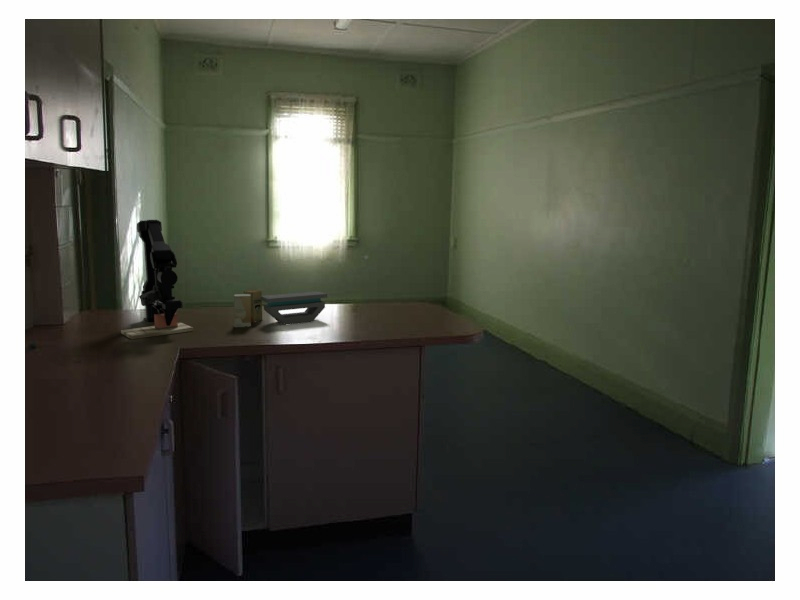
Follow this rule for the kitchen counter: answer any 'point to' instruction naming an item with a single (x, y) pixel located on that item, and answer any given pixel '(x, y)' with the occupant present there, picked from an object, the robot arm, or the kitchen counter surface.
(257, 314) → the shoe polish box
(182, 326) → the cream flat rectangular board
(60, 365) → the kitchen counter surface
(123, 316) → the kitchen counter surface
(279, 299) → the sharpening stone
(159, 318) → the block
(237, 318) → the skincare box
